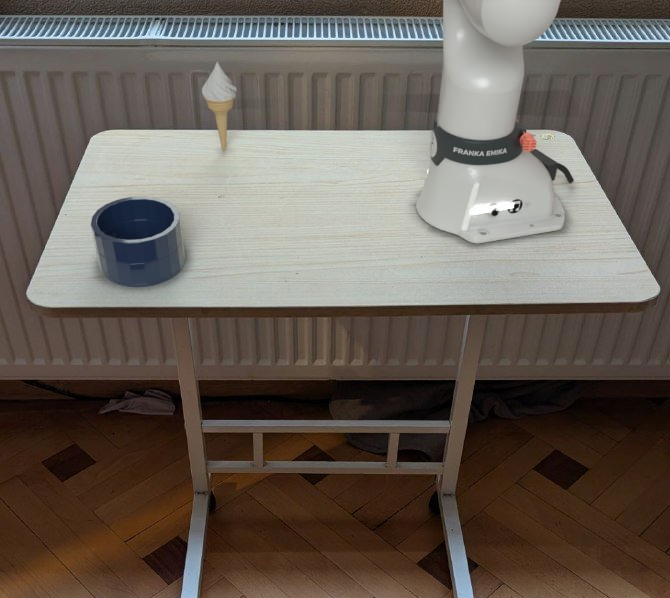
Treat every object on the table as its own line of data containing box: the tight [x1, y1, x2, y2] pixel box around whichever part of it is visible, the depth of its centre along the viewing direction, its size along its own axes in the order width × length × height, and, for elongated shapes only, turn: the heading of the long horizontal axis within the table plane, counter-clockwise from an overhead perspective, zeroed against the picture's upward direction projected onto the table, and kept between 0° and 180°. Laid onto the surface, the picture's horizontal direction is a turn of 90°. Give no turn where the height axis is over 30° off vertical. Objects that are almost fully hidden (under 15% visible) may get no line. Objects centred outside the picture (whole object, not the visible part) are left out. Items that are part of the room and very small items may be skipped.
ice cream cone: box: [201, 61, 237, 152], centre depth 135 cm, size 6×6×15 cm
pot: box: [90, 195, 186, 288], centre depth 113 cm, size 12×12×7 cm
